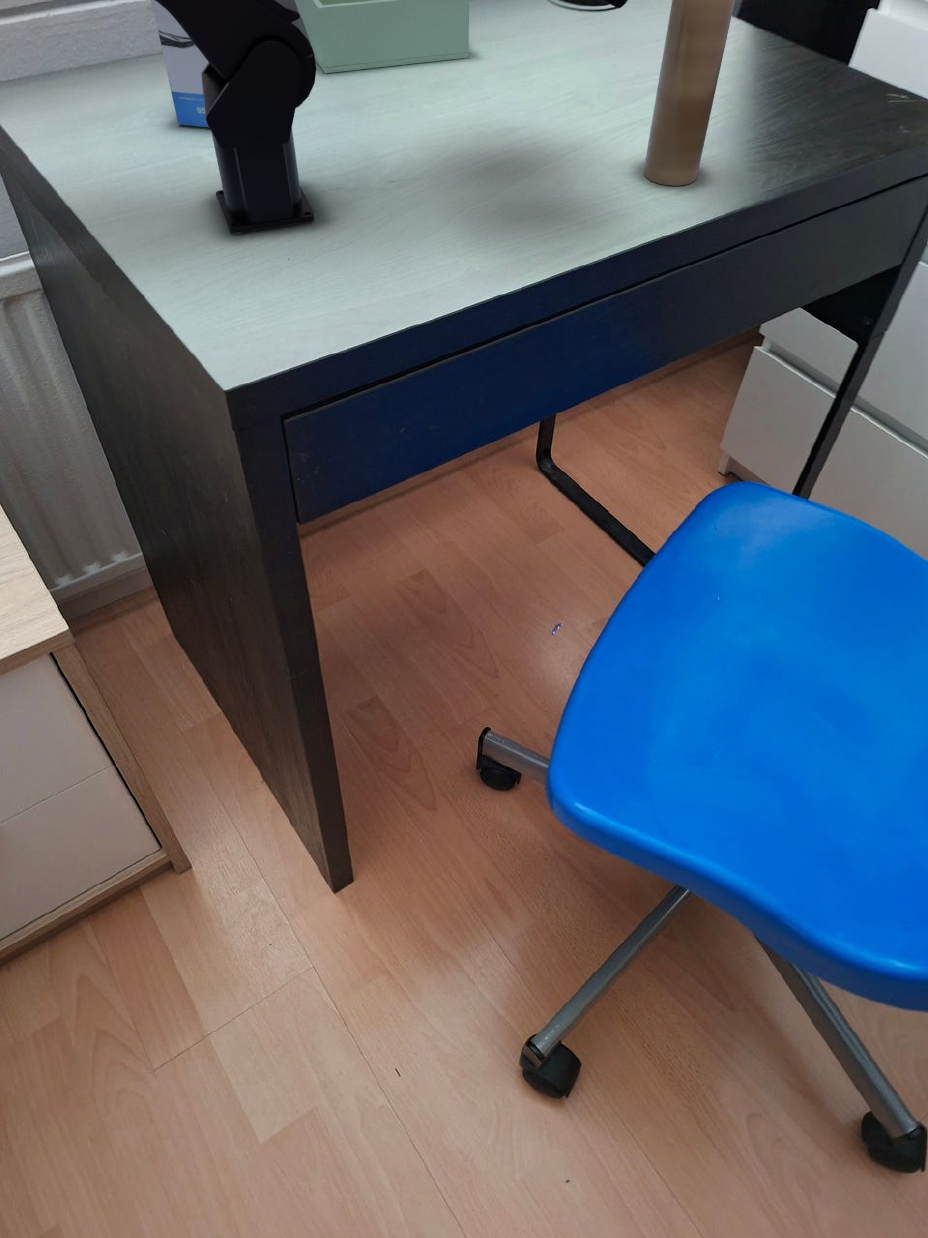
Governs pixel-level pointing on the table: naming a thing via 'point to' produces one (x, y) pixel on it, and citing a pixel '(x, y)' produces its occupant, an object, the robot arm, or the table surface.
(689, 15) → the pepper mill
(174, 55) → the ink box
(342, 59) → the tub
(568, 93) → the table surface
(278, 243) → the table surface
